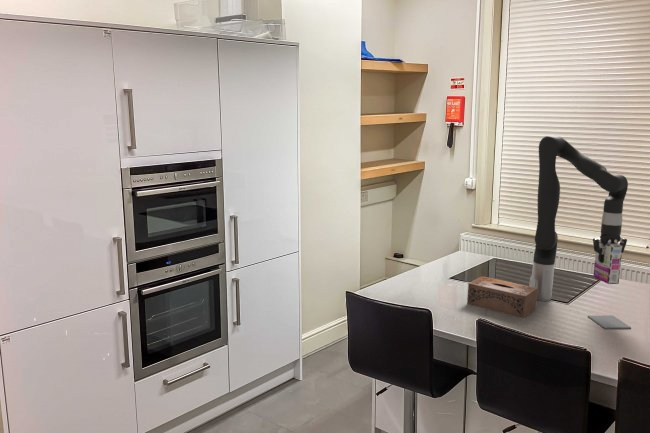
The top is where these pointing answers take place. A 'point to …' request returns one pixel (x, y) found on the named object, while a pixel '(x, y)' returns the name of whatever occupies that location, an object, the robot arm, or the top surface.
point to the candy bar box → (609, 264)
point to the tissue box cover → (502, 296)
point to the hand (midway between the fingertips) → (607, 262)
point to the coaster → (609, 322)
